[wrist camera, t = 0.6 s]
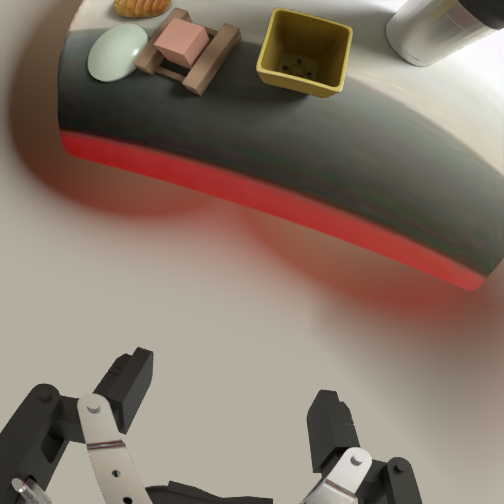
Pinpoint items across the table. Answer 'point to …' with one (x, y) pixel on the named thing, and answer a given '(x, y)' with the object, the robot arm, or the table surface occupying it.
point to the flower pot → (304, 53)
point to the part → (183, 42)
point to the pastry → (141, 7)
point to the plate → (117, 52)
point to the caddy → (204, 65)
